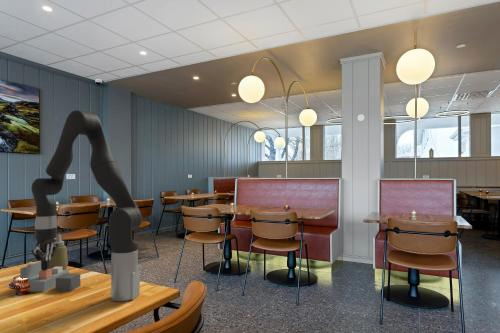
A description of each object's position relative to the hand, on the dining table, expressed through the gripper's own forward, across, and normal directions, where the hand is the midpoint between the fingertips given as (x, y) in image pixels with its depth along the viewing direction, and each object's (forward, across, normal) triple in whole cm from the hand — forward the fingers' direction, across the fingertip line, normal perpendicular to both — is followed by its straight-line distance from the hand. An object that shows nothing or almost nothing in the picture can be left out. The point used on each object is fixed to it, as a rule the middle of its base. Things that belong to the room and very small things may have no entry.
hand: (45, 269), depth 127 cm
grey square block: (+7, 0, -10) cm, 12 cm away
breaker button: (+4, 0, 0) cm, 4 cm away
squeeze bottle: (+8, +20, +8) cm, 22 cm away
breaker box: (+7, +3, +2) cm, 8 cm away
